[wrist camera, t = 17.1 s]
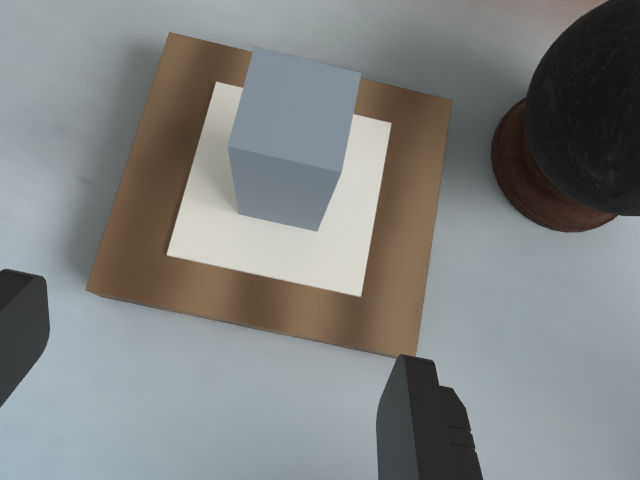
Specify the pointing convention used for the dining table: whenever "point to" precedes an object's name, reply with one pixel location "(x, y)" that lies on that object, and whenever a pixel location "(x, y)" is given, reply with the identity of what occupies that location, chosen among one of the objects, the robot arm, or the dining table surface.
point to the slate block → (290, 137)
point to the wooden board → (269, 237)
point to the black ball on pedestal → (578, 126)
